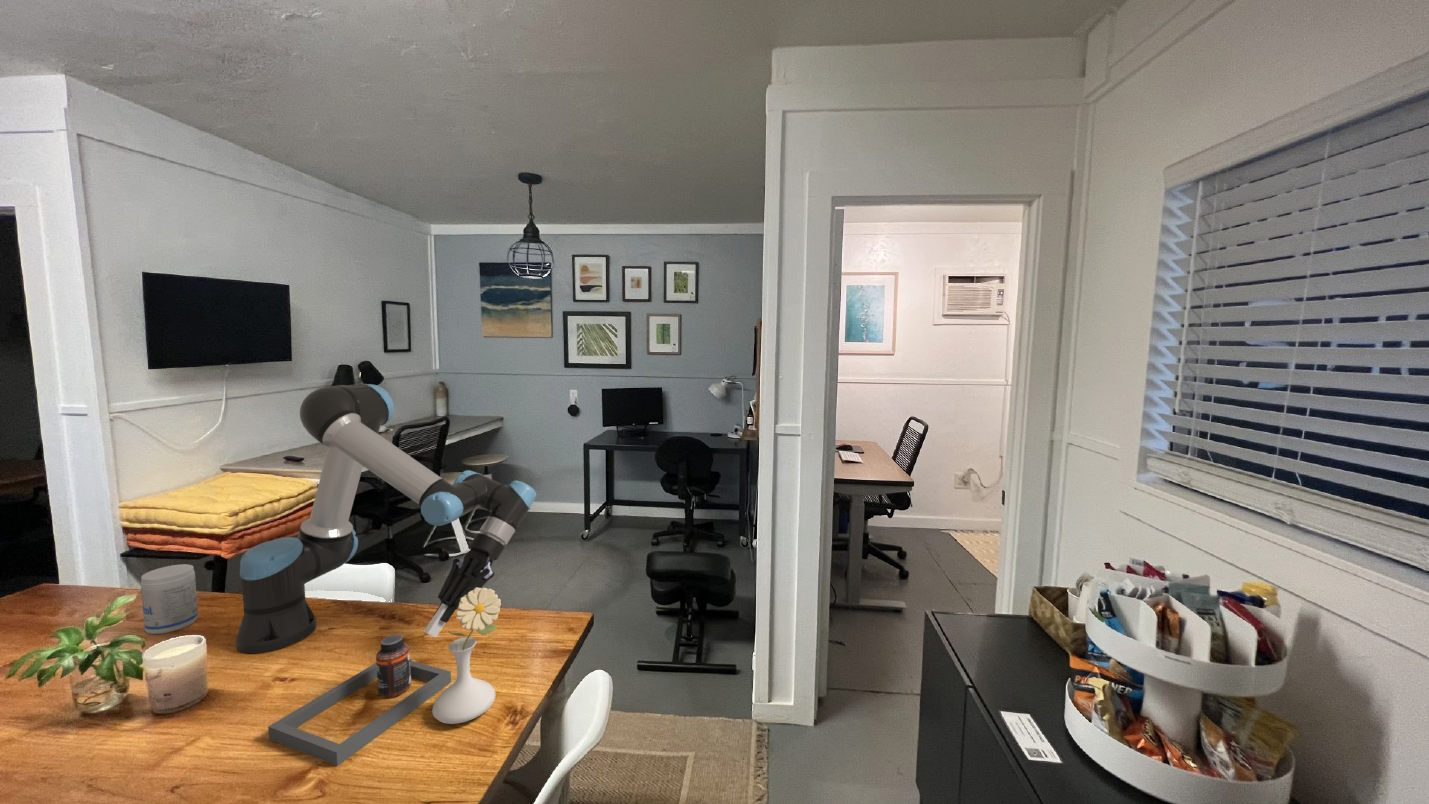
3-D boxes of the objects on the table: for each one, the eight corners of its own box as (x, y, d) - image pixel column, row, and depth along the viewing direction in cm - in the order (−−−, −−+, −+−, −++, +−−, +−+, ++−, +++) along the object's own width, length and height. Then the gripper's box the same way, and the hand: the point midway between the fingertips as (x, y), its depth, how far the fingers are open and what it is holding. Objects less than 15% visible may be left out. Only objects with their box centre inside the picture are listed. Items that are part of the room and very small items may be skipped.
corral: (269, 739, 94) (268, 726, 94) (390, 665, 117) (389, 654, 116) (337, 766, 88) (336, 752, 88) (451, 682, 111) (450, 671, 111)
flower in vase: (425, 735, 95) (419, 607, 93) (440, 696, 106) (435, 580, 104) (500, 722, 99) (496, 598, 97) (507, 685, 110) (504, 573, 107)
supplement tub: (136, 631, 130) (131, 575, 128) (185, 613, 139) (180, 561, 137) (158, 639, 127) (152, 581, 125) (207, 620, 135) (202, 566, 134)
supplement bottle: (417, 682, 111) (415, 632, 110) (398, 700, 105) (395, 648, 104) (392, 680, 111) (389, 630, 110) (371, 698, 105) (368, 646, 104)
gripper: (518, 551, 127) (459, 648, 114) (484, 541, 133) (424, 632, 120) (499, 537, 122) (435, 637, 109) (465, 527, 128) (400, 621, 115)
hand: (429, 634), depth 115 cm, fingers closed
